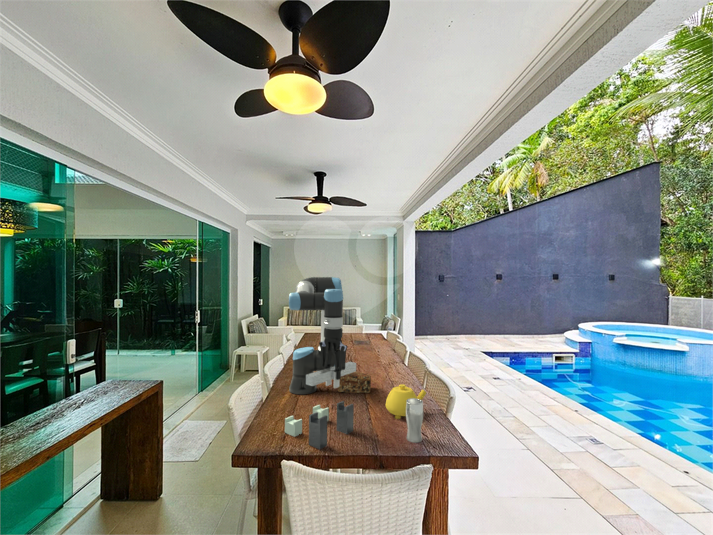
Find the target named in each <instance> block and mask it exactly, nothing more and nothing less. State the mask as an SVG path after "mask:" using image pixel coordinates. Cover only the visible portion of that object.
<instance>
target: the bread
mask: <svg viewBox="0 0 713 535" xmlns="http://www.w3.org/2000/svg"><path fill="white" fill-rule="evenodd" d="M371 386H372V377H371V375H370V373H364V372H361V371H360V372H359V371H355V372H352V373H350V374H347V375H344V376H341V378H340V381H339V387H337V388H336V389H337V392H338V393H347V394H348V393H350V394H362V393H365V394H369V393H371Z"/></svg>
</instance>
